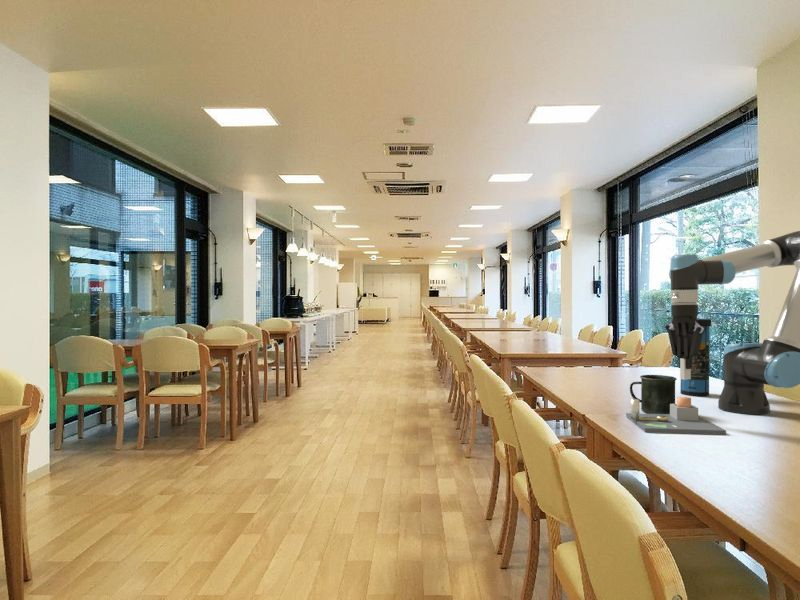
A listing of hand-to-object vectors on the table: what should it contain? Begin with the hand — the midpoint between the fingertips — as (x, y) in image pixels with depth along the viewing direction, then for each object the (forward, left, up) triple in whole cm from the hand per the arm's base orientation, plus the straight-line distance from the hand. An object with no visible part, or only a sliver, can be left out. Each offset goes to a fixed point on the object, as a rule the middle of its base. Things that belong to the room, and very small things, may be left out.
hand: (685, 378), depth 172 cm
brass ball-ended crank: (+12, +5, -12) cm, 18 cm away
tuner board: (+6, +5, -14) cm, 15 cm away
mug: (+6, -14, -14) cm, 20 cm away
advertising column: (-21, -50, -14) cm, 56 cm away
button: (+1, 0, -11) cm, 11 cm away
